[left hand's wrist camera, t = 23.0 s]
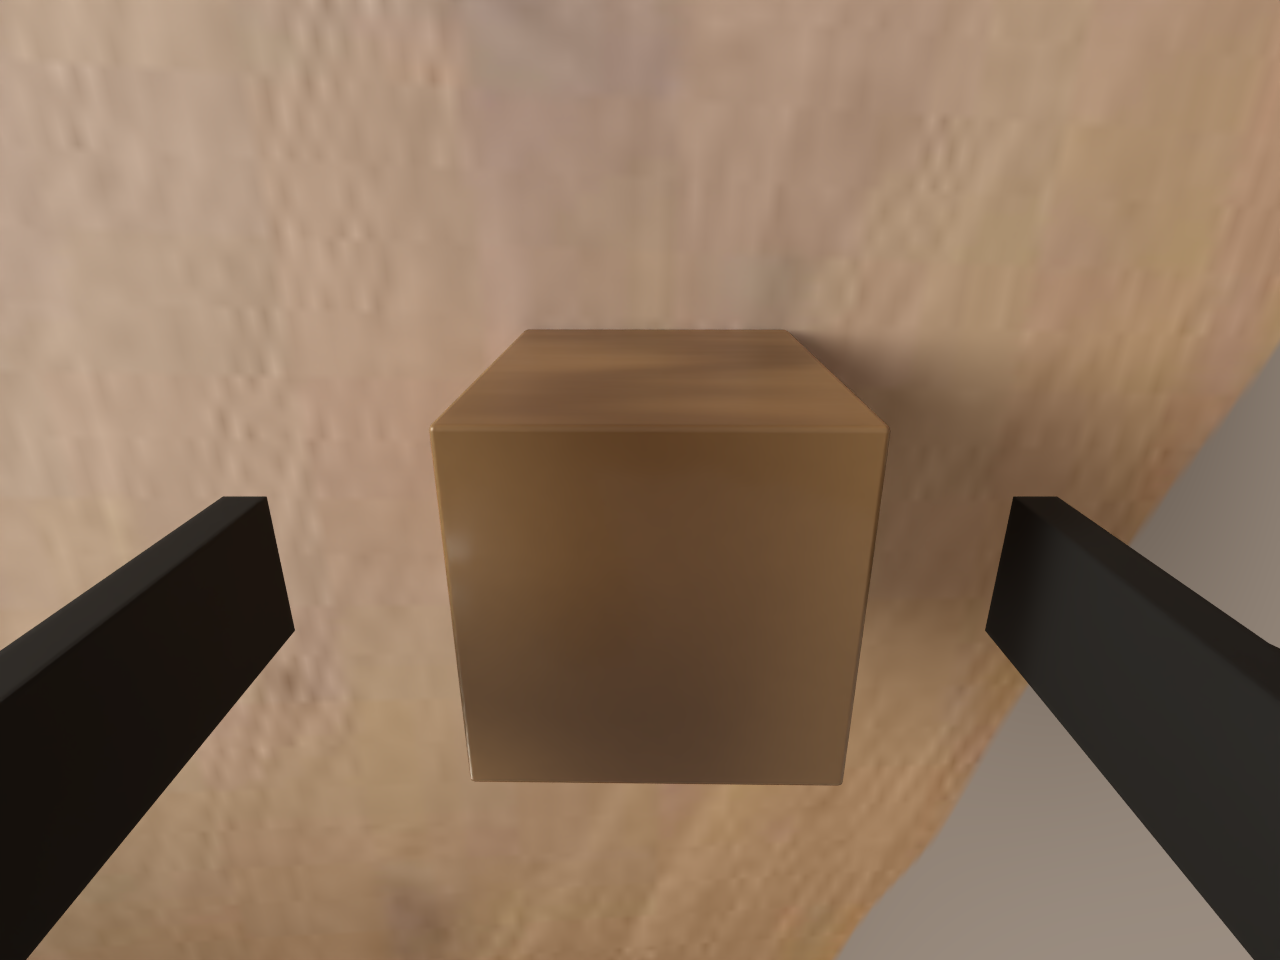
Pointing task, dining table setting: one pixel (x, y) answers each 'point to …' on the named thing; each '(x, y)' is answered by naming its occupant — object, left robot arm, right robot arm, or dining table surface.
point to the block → (658, 557)
